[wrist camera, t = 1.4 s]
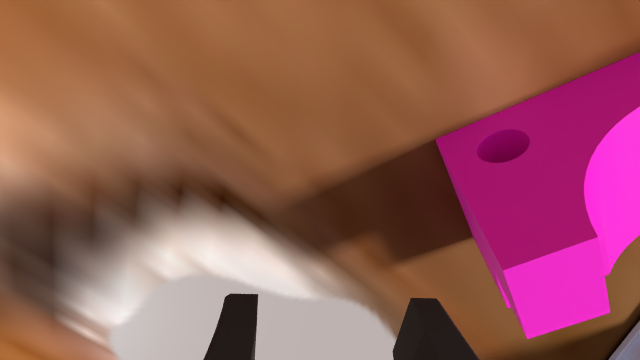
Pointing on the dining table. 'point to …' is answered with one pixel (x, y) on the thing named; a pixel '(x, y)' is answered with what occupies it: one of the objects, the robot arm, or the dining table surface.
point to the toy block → (554, 193)
